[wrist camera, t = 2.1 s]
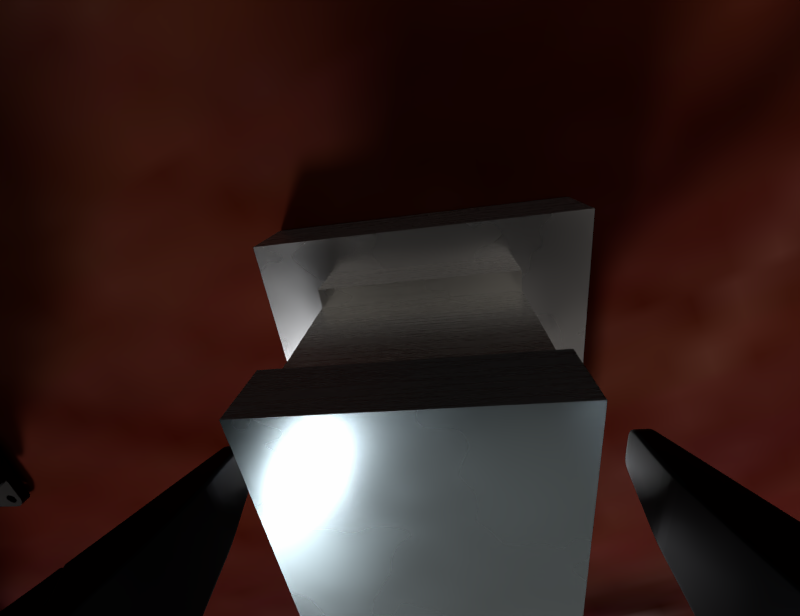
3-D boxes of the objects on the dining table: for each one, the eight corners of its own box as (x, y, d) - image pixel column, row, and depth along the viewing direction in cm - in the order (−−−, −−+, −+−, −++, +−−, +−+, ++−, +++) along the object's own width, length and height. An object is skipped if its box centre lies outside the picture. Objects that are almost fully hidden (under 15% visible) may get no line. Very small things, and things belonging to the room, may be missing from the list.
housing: (370, 459, 13) (327, 679, 8) (330, 274, 11) (219, 419, 5) (514, 454, 13) (574, 690, 7) (511, 255, 10) (607, 400, 4)
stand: (335, 441, 16) (322, 480, 14) (279, 231, 12) (253, 247, 10) (557, 431, 15) (574, 473, 13) (568, 196, 11) (595, 208, 9)
